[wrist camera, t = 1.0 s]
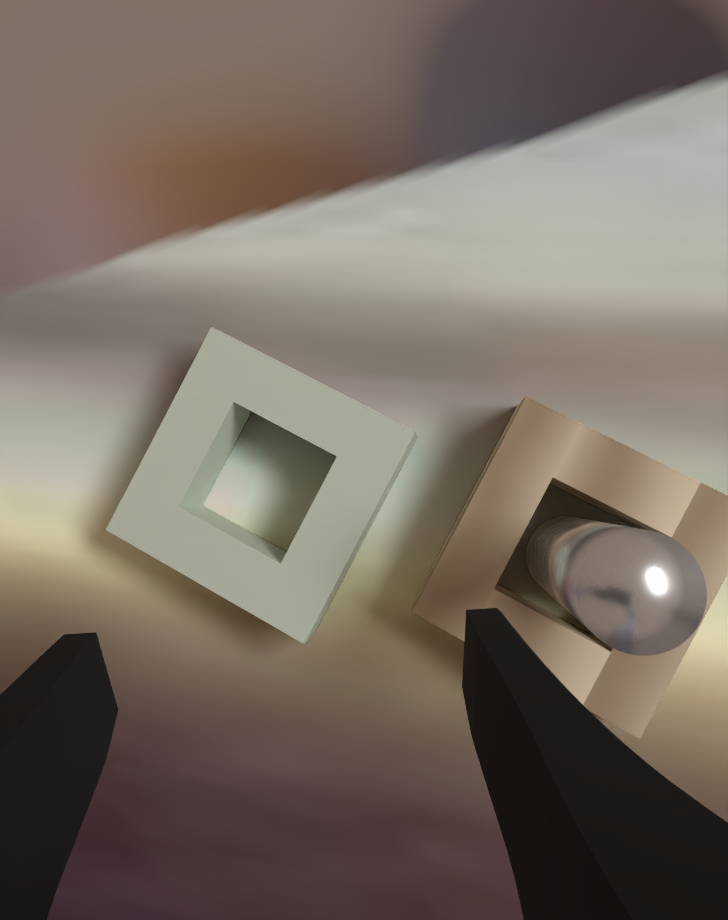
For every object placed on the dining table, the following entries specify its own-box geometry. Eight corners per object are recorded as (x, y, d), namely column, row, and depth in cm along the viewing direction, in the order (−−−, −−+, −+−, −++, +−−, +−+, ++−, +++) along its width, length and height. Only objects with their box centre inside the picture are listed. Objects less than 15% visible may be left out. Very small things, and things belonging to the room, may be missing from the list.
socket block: (726, 510, 24) (760, 512, 22) (619, 714, 24) (640, 739, 22) (517, 405, 25) (526, 396, 23) (414, 600, 25) (412, 612, 23)
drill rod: (622, 540, 25) (729, 567, 16) (585, 611, 25) (670, 679, 16) (548, 502, 25) (612, 507, 16) (511, 572, 25) (554, 616, 16)
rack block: (417, 437, 26) (415, 431, 23) (316, 629, 26) (304, 643, 23) (232, 341, 27) (211, 326, 24) (136, 526, 27) (105, 529, 24)
